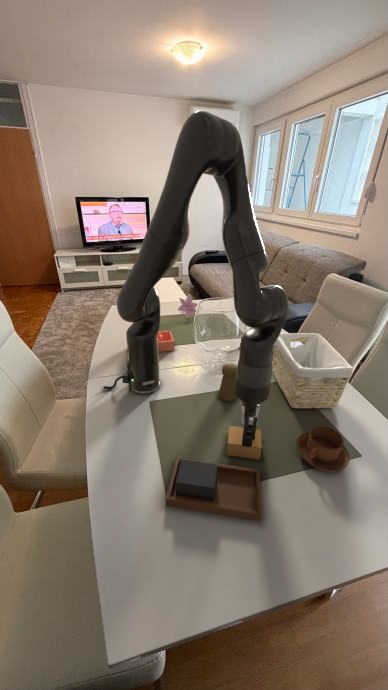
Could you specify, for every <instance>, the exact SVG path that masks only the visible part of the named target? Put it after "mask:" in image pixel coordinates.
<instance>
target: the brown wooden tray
mask: <svg viewBox="0 0 388 690" xmlns="http://www.w3.org/2000/svg"><path fill="white" fill-rule="evenodd" d="M181 459H183V458H180V457H176V458H175V461H174V464H173V469H172V472H171V477H170V480H169V484H168V488H167V492H166V494H165V507H172V508H178V509H184V510H190V511H196V512H201V513H202V512H203V513H208V514H209V513H210V514H214V515H220V516H227V517H233V518H239V519H245V520H251V521H257V522H261V520H262V519H261V518H262V495H261V494H262V493H261V492H262V491H261V474H260V473H261V472H260V471H261V469H258V468H257V469H256V468H250V467H244V466H236V465H229V464H224V463H216V462H212V463H213V464H217V474H216V484H215V493H214V501H212V500H206V499H199V498H193V497H187V496H180V495H176V479H177V475H178V471H179V467H180V463H181ZM184 459H185V460H189V459H187V458H184ZM191 460H192V461H196V460H195V459H191ZM198 461H199V462H203V461H201V460H198ZM205 462H206V463H210V462H208V461H205Z"/></svg>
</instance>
